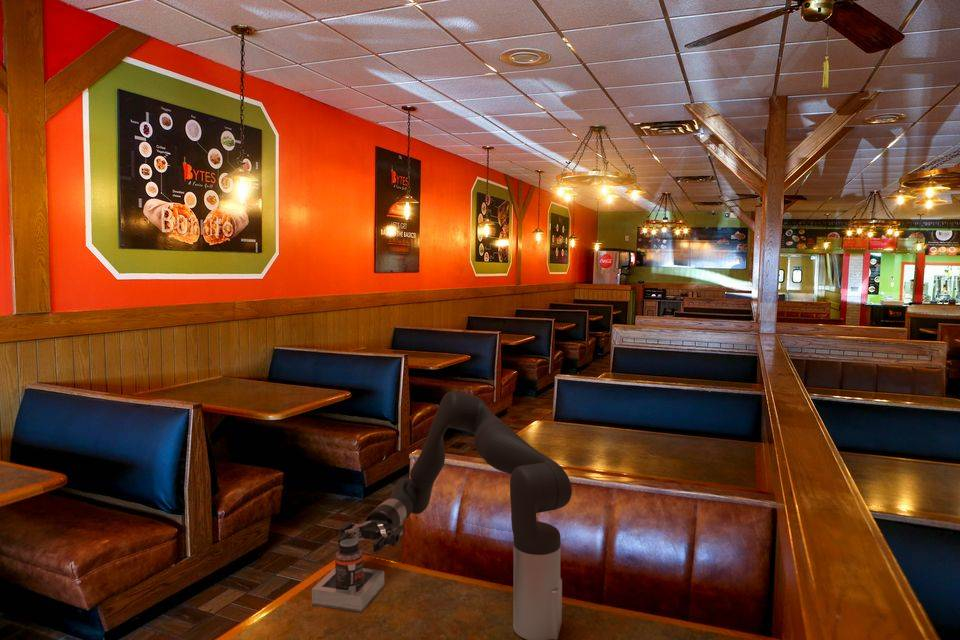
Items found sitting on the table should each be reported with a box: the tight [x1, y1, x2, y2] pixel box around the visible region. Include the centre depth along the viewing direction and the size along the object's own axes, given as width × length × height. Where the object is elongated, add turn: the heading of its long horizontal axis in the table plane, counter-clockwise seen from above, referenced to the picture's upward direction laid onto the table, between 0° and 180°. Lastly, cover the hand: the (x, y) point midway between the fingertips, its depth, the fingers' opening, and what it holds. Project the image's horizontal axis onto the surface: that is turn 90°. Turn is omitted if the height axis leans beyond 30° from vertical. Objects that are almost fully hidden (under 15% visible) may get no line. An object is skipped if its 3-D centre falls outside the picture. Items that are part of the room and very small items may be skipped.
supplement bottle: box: [334, 539, 364, 592], centre depth 139 cm, size 6×6×11 cm
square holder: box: [311, 567, 385, 613], centre depth 139 cm, size 12×12×4 cm
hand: (357, 546), depth 143 cm, fingers open, 8 cm apart
